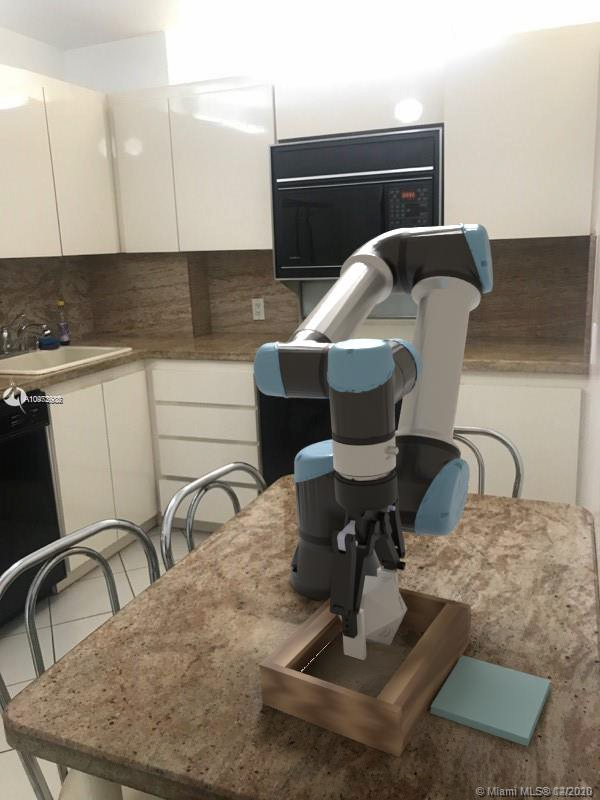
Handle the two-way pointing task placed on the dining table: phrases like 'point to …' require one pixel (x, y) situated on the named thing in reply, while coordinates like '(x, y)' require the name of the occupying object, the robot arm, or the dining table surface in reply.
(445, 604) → the wooden tray
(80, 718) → the dining table surface
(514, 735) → the pad
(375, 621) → the die
